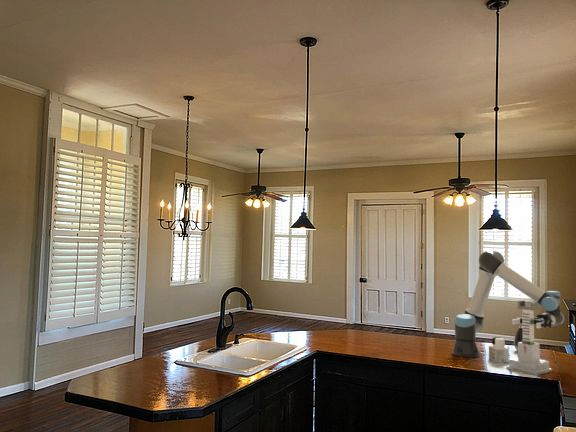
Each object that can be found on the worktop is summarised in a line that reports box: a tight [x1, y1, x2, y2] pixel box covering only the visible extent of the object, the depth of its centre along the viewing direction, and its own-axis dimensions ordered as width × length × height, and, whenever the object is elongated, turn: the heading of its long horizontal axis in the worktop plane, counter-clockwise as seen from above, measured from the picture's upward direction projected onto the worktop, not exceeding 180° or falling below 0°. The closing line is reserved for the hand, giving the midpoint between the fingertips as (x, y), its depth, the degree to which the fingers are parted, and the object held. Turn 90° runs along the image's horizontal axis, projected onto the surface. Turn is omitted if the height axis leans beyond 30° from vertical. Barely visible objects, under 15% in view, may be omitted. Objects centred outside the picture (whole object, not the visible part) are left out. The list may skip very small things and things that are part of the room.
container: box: [488, 336, 510, 363], centre depth 263 cm, size 8×8×13 cm
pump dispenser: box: [513, 326, 523, 352], centre depth 286 cm, size 10×10×15 cm
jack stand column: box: [517, 300, 539, 345], centre depth 245 cm, size 8×5×30 cm, turn 35°
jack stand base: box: [505, 341, 553, 376], centre depth 245 cm, size 16×16×15 cm
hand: (524, 323), depth 243 cm, fingers open, 12 cm apart
